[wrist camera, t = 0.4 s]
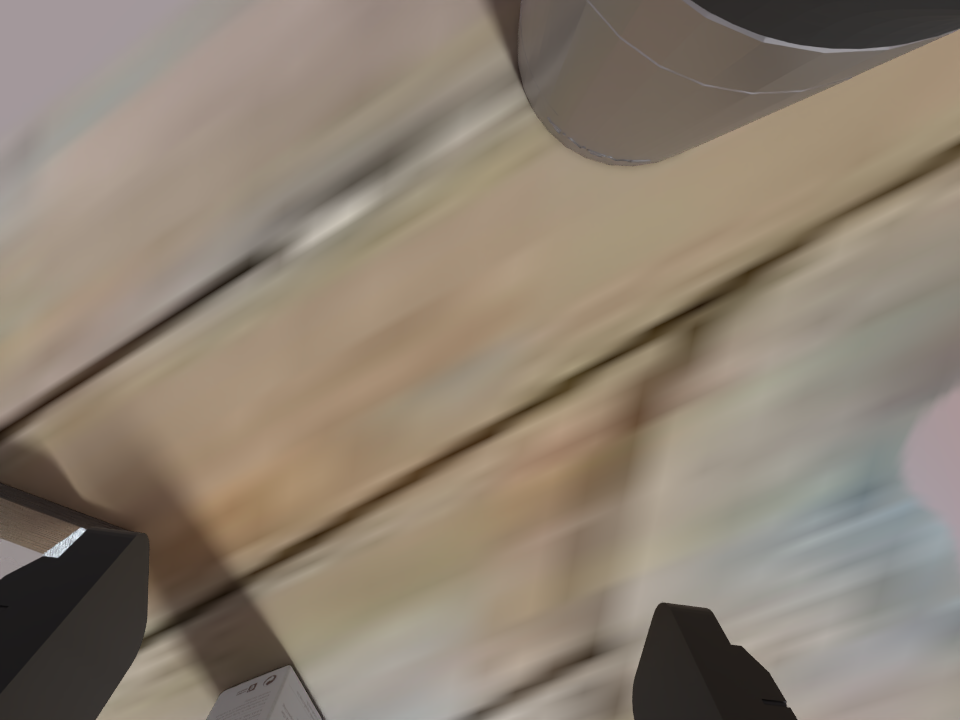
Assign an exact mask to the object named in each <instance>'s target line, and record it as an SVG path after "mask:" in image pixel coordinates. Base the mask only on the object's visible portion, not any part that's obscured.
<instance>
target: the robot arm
mask: <svg viewBox="0 0 960 720" xmlns="http://www.w3.org/2000/svg"><path fill="white" fill-rule="evenodd" d="M959 29H960V0H521V7H520V18H519V28H518V66H519V70H520V75H521V79H522V84H523V88H524V91H525V93H526V95H527V97H528V100H529V102H530V104H531V106H532V109H533V111H534V112H535V114H536V115H537V116H538V118H539V119H540V121H541V122H542V123H543V125H544V126H545V127H546V129H547V130H548V131H549V132H550V133H551V134H552V135H553V136H554V137H555V138H557V139H558V140H559V141H560V142H561V143H562V144H563V145H565V146H566V147H567V148H569V149H571V150H573V151H575V152H576V153H578V154H580V155H582V156H584V157H585V158H588V159H591V160H595V161H598V162H602V163H605V164H608V165H621V166H637V165H644V164H650V163H657V162H659V161H662V160H664V159H667V158H670V157H672V156H675V155H677V154H680V153H682V152H684V151H687V150H689V149H691V148H694V147H697V146H699V145H701V144H704V143H706V142H708V141H710V140H713V139H715V138H717V137H719V136H722V135H724V134H726V133H728V132H731V131H733V130H735V129H737V128H740V127H742V126H744V125H747V124H749V123H751V122H753V121H756V120H758V119H760V118H762V117H765V116H767V115H769V114H771V113H774V112H776V111H778V110H780V109H783V108H785V107H787V106H789V105H792V104H794V103H796V102H798V101H801V100H803V99H805V98H808V97H810V96H812V95H814V94H817V93H819V92H821V91H823V90H826V89H828V88H830V87H832V86H835V85H837V84H839V83H841V82H844V81H846V80H848V79H850V78H852V77H854V76H856V75H858V74H860V73H863V72H865V71H867V70H869V69H872V68H874V67H876V66H878V65H881V64H883V63H885V62H887V61H890V60H892V59H894V58H896V57H899V56H901V55H903V54H905V53H908V52H910V51H912V50H914V49H917V48H919V47H921V46H923V45H926V44H928V43H930V42H932V41H935V40H937V39H939V38H941V37H944V36H946V35H948V34H950V33H953V32H955V31H957V30H959ZM148 576H149V539H148V536H147V535H146V534H145V533H140V532H132V531H124V530H117V529H109V528H101V527H90V528H89V529H87V530H86V531H85V532H84V533H83V534H82V535H81V536H80V537H79V538H78V539H77V540H76V541H75V542H74V543H73V544H72V545H71V546H69V547H68V548H67V549H66V550H65V551H64V552H63V553H62V554H61V555H60V556H59V557H58V558H56V557H48V556H42V557H40V558H38V559H36V560H34V561H32V562H31V563H29V564H27V565H25V566H23V567H21V568H19V569H17V570H15V571H13V572H11V573H9V574H7V575H5V576H4V577H3V578H2V579H0V720H96V718H97V717H98V715H99V714H100V712H101V711H102V709H103V707H104V706H105V704H106V703H107V701H108V700H109V698H110V697H111V695H112V694H113V692H114V691H115V689H116V688H117V686H118V684H119V683H120V681H121V680H122V678H123V677H124V675H125V674H126V672H127V671H128V669H129V668H130V666H131V664H132V663H133V661H134V659H135V657H136V655H137V653H138V651H139V648H140V646H141V643H142V640H143V637H144V633H145V628H146V623H147V608H148ZM632 704H633V714H634V720H797V718H796V716H795V715H794V713H793V711H792V710H791V708H788V707H787V705H786V700H785V698H784V697H783V695H782V693H781V692H780V690H779V688H778V687H777V685H776V683H775V682H774V680H773V678H772V677H771V675H770V673H769V672H768V671H767V670H766V669H765V668H764V667H763V666H762V665H761V664H760V663H759V662H757V661H756V660H755V659H754V658H753V657H752V656H751V655H750V654H749V653H748V652H747V651H746V650H745V649H744V648H743V647H742V646H737V645H731V644H730V642H729V640H728V639H727V637H726V635H725V633H724V632H723V630H722V628H721V626H720V624H719V623H718V621H717V619H716V617H715V616H714V614H713V613H712V611H711V610H709V609H708V608H701V607H693V606H686V605H678V604H671V603H660V604H659V605H658V606H657V608H656V610H655V612H654V615H653V618H652V621H651V625H650V628H649V631H648V635H647V638H646V642H645V645H644V648H643V652H642V655H641V658H640V662H639V665H638V668H637V672H636V675H635V679H634V684H633V695H632Z"/></svg>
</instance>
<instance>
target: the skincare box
mask: <svg viewBox="0 0 960 720" xmlns="http://www.w3.org/2000/svg"><path fill="white" fill-rule="evenodd" d="M206 720H322V718H321V717H320V715H319V713H318V711H317V710H316V708H315V706H314V705H313V703H312V701H311V699H310V698H309V696H308V694H307V692H306V691H305V689H304V687H303V685H302V684H301V682H300V680H299V679H298V677H297V675H296V673H295V672H294V670H293V668H292V667H291V666H290V665H288V666H285V667H283V668H280V669H277V670H274V671H272V672H269V673H266V674H264V675H262V676H259V677H257V678H254V679H251V680H249V681H246V682H244V683H241V684H239V685H237V686H235V687H232V688H230V689H227V690H225V691H224V692H223V693H221V694H220V696H219V697H218V699H217V701H216V703H215V704H214V706H213V708H212V710H211V712H210V713H209V715H208V717H207V719H206Z"/></svg>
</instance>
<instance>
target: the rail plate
mask: <svg viewBox="0 0 960 720" xmlns="http://www.w3.org/2000/svg"><path fill="white" fill-rule="evenodd" d="M90 527H101V528H109V529H117V530H124V531H127V530H125V529H122V528H119V527H117V526H114V525H111V524H109V523H106V522H103V521H101V520H98V519H95V518H93V517H90V516H87V515H85V514H82V513H79V512H77V511H74V510H71V509H69V508H66V507H63V506H61V505H58V504H55V503H52V502H50V501H47V500H44V499H42V498H39V497H36V496H34V495H31V494H28V493H26V492H23V491H20V490H18V489H15V488H12V487H10V486H7V485H4V484H2V483H0V579H2V578H3V577H4V576H5V575H7V574H9V573H11V572H13V571H15V570H17V569H19V568H21V567H23V566H25V565H27V564H29V563H31V562H32V561H34V560H36V559H38V558H40V557H42V556H48V557H56V558H58V557H59V556H60V555H61V554H62V553H63V552H64V551H65V550H66V549H67V548H68V547H69V546H71V545H72V544H73V543H74V542H75V541H76V540H77V539H78V538H79V537H80V536H81V535H82V534H83V533H84V532H85V531H86V530H87V529H89V528H90Z"/></svg>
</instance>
